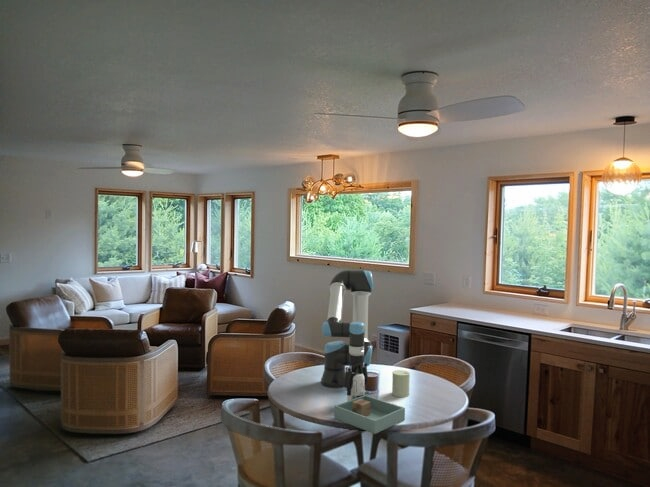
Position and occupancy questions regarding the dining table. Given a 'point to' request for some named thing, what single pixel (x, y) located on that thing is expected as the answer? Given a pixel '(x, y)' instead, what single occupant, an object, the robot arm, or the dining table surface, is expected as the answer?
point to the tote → (371, 415)
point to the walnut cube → (361, 407)
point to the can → (400, 383)
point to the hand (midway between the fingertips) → (355, 399)
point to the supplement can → (358, 385)
